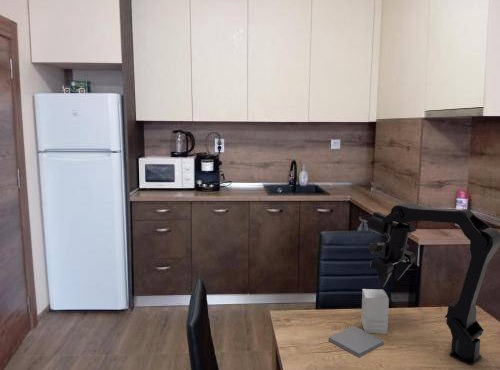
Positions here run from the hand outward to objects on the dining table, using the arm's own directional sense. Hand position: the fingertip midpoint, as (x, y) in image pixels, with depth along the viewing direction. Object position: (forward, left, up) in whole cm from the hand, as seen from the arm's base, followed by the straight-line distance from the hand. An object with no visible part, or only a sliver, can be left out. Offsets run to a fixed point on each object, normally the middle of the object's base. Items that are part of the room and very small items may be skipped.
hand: (389, 283), depth 138 cm
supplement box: (+1, +6, -15) cm, 16 cm away
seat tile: (-1, +18, -15) cm, 23 cm away
